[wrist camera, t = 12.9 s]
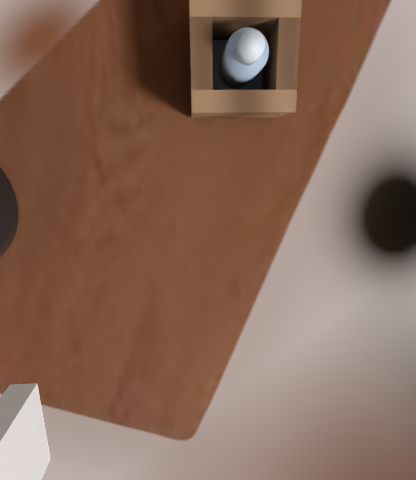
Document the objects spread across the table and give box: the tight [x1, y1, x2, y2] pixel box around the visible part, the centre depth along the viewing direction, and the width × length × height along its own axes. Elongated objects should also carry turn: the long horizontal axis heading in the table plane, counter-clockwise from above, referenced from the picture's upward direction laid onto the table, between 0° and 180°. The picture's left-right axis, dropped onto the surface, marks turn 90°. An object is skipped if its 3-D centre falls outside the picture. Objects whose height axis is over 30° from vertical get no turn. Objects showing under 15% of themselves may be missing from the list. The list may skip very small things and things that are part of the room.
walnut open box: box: [189, 0, 302, 118], centre depth 31 cm, size 9×9×6 cm
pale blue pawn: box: [212, 27, 269, 90], centre depth 30 cm, size 7×7×9 cm
